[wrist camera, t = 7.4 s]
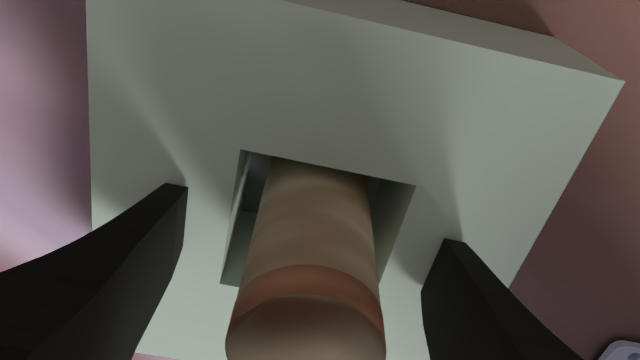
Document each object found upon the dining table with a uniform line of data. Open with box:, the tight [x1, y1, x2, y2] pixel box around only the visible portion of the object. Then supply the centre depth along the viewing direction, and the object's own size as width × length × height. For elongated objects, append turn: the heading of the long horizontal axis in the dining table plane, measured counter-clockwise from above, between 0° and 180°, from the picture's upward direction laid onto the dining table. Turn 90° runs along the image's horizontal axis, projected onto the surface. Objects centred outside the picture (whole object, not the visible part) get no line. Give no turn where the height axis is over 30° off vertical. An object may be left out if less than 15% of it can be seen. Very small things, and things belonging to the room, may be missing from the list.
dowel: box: [225, 156, 387, 360], centre depth 13 cm, size 3×3×8 cm
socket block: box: [86, 0, 626, 360], centre depth 15 cm, size 12×12×4 cm
